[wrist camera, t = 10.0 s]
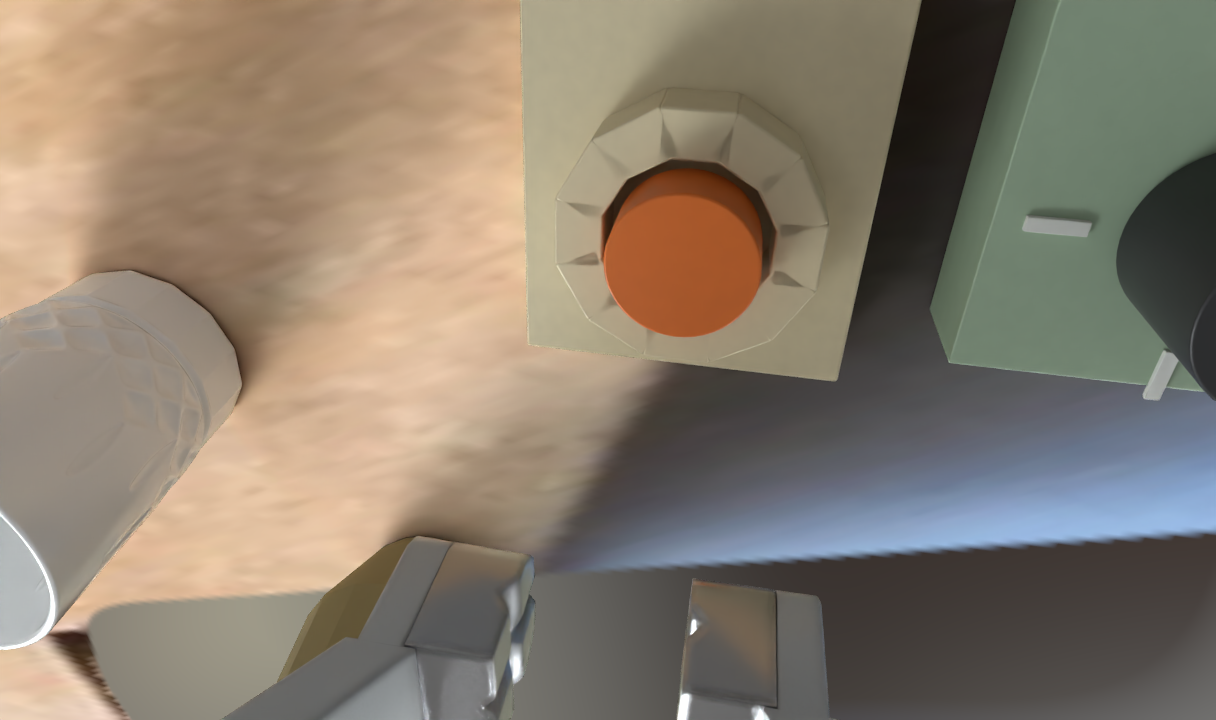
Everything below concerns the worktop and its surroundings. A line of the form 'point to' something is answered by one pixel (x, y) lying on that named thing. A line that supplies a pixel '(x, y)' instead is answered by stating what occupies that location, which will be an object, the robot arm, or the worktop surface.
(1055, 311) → the dial panel
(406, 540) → the squeeze bottle
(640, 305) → the power button
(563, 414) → the worktop surface
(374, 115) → the worktop surface
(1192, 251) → the timer dial
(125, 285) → the white cup
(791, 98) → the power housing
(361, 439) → the worktop surface
